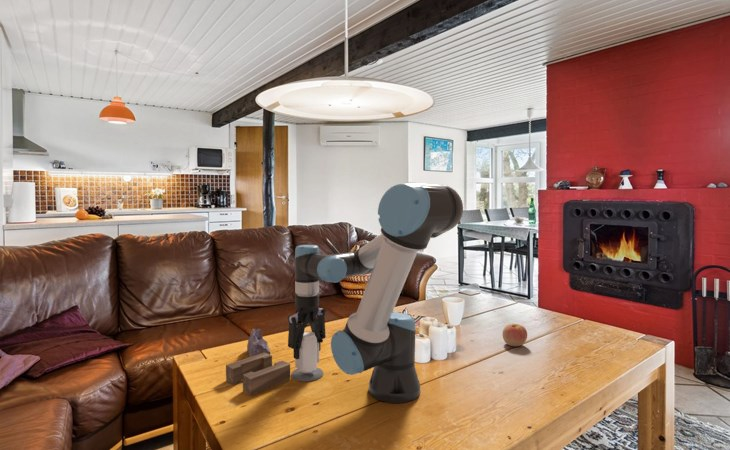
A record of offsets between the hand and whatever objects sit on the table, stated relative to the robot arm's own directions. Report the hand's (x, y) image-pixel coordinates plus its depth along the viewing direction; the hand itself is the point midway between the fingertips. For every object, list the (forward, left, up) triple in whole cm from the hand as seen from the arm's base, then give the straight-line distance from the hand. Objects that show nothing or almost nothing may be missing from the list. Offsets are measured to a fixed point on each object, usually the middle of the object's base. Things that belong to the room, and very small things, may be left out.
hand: (307, 364), depth 129 cm
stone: (+24, +3, -4) cm, 25 cm away
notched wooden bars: (+8, +13, -3) cm, 16 cm away
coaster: (0, 0, -3) cm, 3 cm away
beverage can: (0, 0, -2) cm, 2 cm away
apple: (-38, -72, -4) cm, 81 cm away
